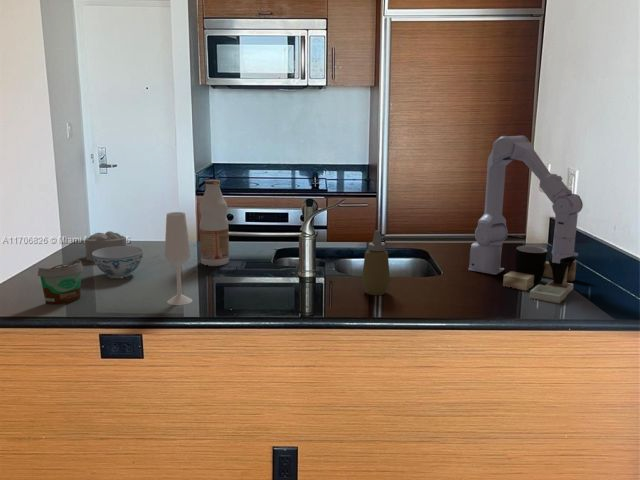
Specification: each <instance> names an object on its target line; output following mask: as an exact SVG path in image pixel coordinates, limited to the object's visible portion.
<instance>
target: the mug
mask: <svg viewBox="0 0 640 480" xmlns="http://www.w3.org/2000/svg"><path fill="white" fill-rule="evenodd" d="M547 257H548V250H547V249H546V248H544V247H539V246H533V245H521V246H520V245H519V246H517V247H516V249H515V272H519V273H525V274H530V275H534V284H533V285H538V284H540V283H541V281H542V280H543V279H542V278H543V273H544V269H545V264H546V261H547Z"/></svg>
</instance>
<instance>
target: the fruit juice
mask: <svg viewBox="0 0 640 480" xmlns="http://www.w3.org/2000/svg"><path fill="white" fill-rule="evenodd" d="M204 186H205V190H204V193H203V196H202V199H201V201H200V202H199V206H198V207H199V212H200V215H201V216H200V219H199V242H200V244H199V247H200V262H201V264H202V265H203V264H204V266H206V265H208V267H221V266H225V265H227V264H229V262H230V246H229V245H230V243H229V241H230V240H229V220H228V217H227V212H228V204H227V201H226V200H225V198H224V196H223V193H222V190H221V187H220V186H221V181H220V179H207V180H206V179H205V182H204Z"/></svg>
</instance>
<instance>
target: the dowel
mask: <svg viewBox="0 0 640 480" xmlns="http://www.w3.org/2000/svg"><path fill="white" fill-rule="evenodd" d="M567 274H568V268H567V270H566V272H565V276H564V280H563V283H562V284H561V285H560V284H555V283H554V280H553V286H558V287H563V288H566V284H567V283H568V281H567Z"/></svg>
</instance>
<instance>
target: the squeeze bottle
mask: <svg viewBox="0 0 640 480" xmlns="http://www.w3.org/2000/svg"><path fill="white" fill-rule="evenodd" d="M389 263H390V262H389V252H388V251H386V244H385V242H382V238H381V233H380V230H375V231H374V235H373V238H372V241H371V242H369V243H368V249H367V250H366V251H365V252H364V260H363V267H362V274H361V283H362V286H363V290H364V292H365V294H367V295H369V296H370V295H371V296H383V295H385V294H386V293H387V290H388V289H389V285H390V281H391V280H390V279H391V277H390V265H389Z"/></svg>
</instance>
